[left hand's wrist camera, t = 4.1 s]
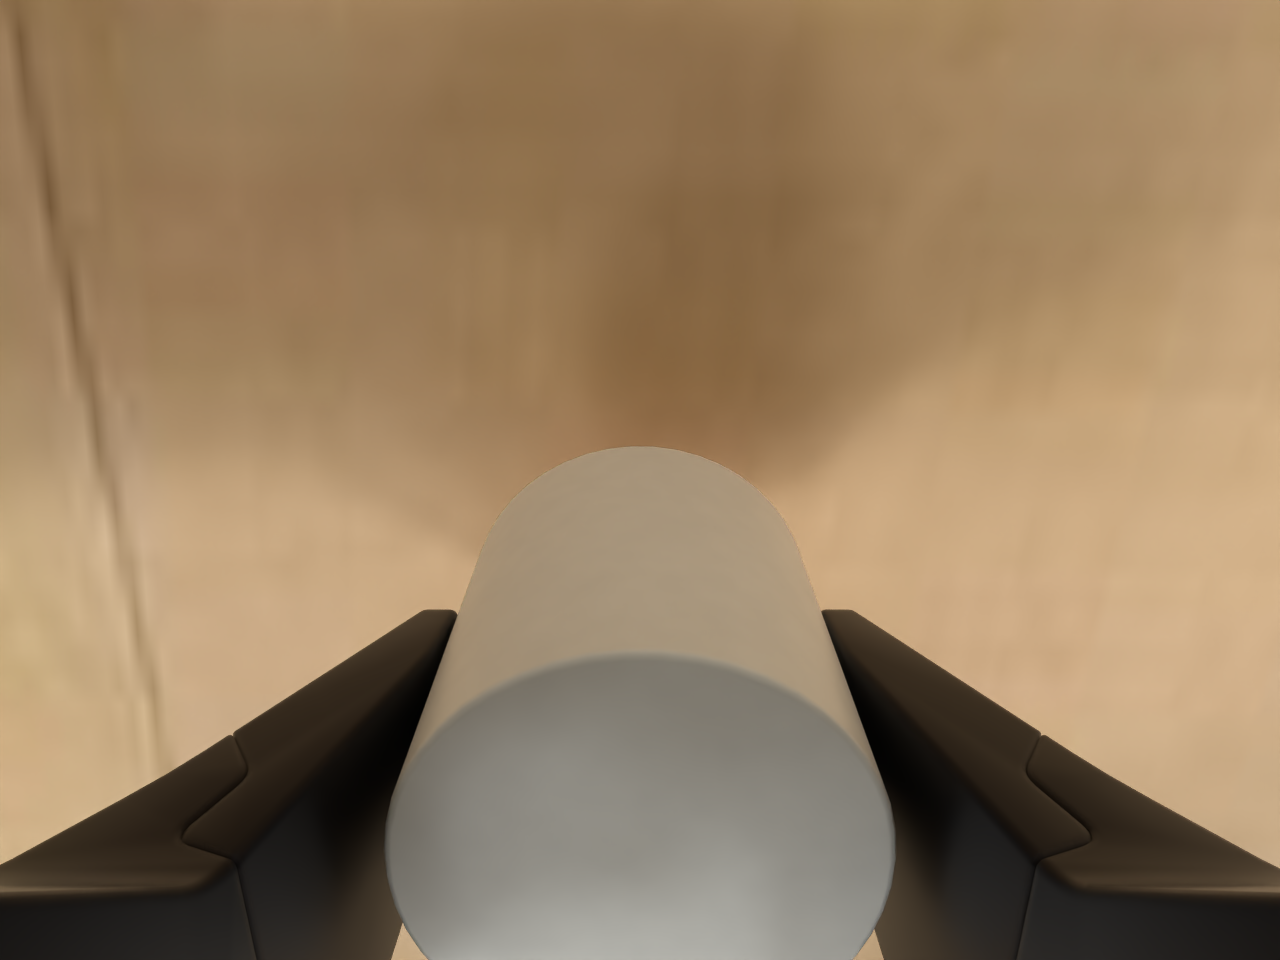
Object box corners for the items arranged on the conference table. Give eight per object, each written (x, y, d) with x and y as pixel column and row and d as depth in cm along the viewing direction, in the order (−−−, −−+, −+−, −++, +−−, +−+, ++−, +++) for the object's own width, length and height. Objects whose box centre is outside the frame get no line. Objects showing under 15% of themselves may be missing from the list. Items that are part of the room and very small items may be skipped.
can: (873, 588, 12) (1007, 858, 8) (650, 785, 13) (656, 1114, 9) (627, 373, 11) (619, 545, 7) (408, 608, 12) (279, 887, 8)
